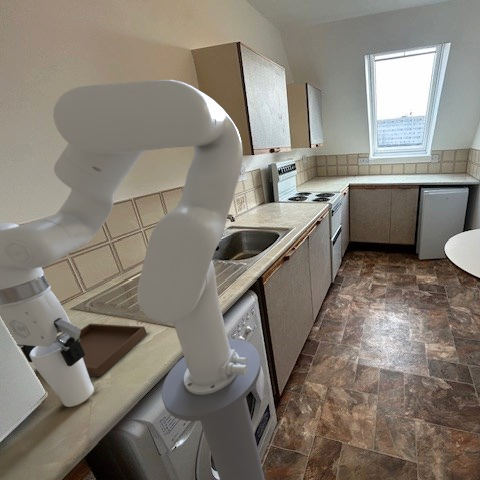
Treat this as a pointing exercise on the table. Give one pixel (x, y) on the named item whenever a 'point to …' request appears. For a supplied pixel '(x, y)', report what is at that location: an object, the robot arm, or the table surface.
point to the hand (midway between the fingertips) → (57, 359)
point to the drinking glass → (62, 374)
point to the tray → (107, 345)
